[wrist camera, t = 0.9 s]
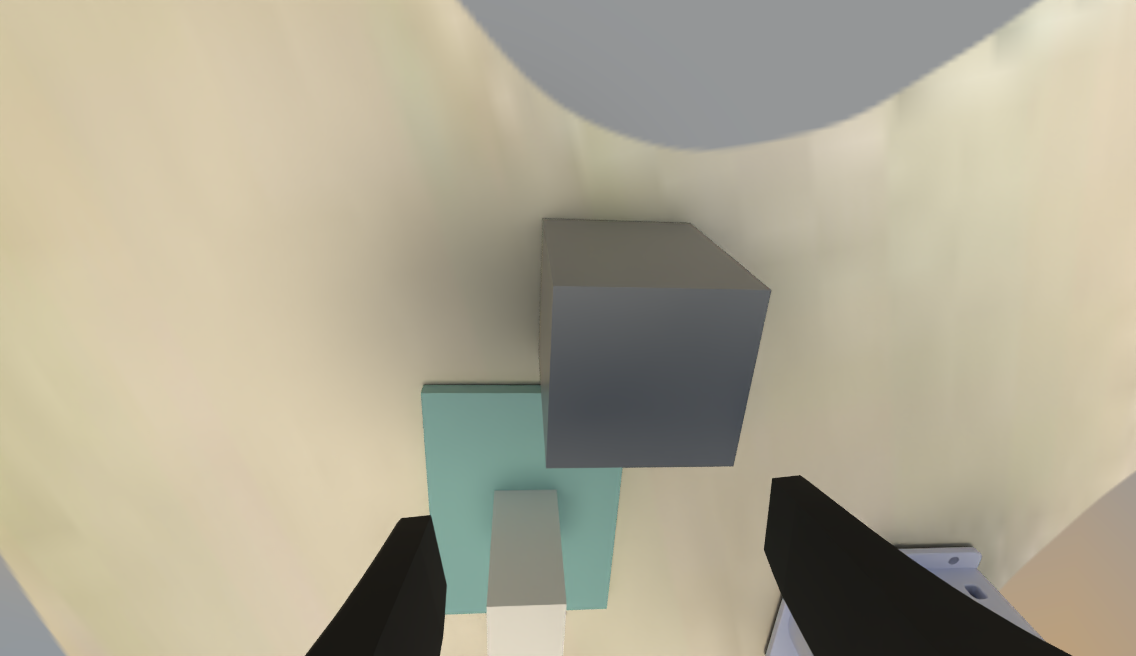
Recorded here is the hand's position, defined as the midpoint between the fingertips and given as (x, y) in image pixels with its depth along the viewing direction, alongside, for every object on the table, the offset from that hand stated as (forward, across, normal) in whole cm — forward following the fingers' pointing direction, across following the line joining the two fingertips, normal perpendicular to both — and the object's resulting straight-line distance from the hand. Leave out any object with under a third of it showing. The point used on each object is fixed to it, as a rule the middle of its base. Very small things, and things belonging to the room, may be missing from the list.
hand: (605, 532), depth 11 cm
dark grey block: (+10, -2, -2) cm, 10 cm away
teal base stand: (+10, +2, +8) cm, 13 cm away
